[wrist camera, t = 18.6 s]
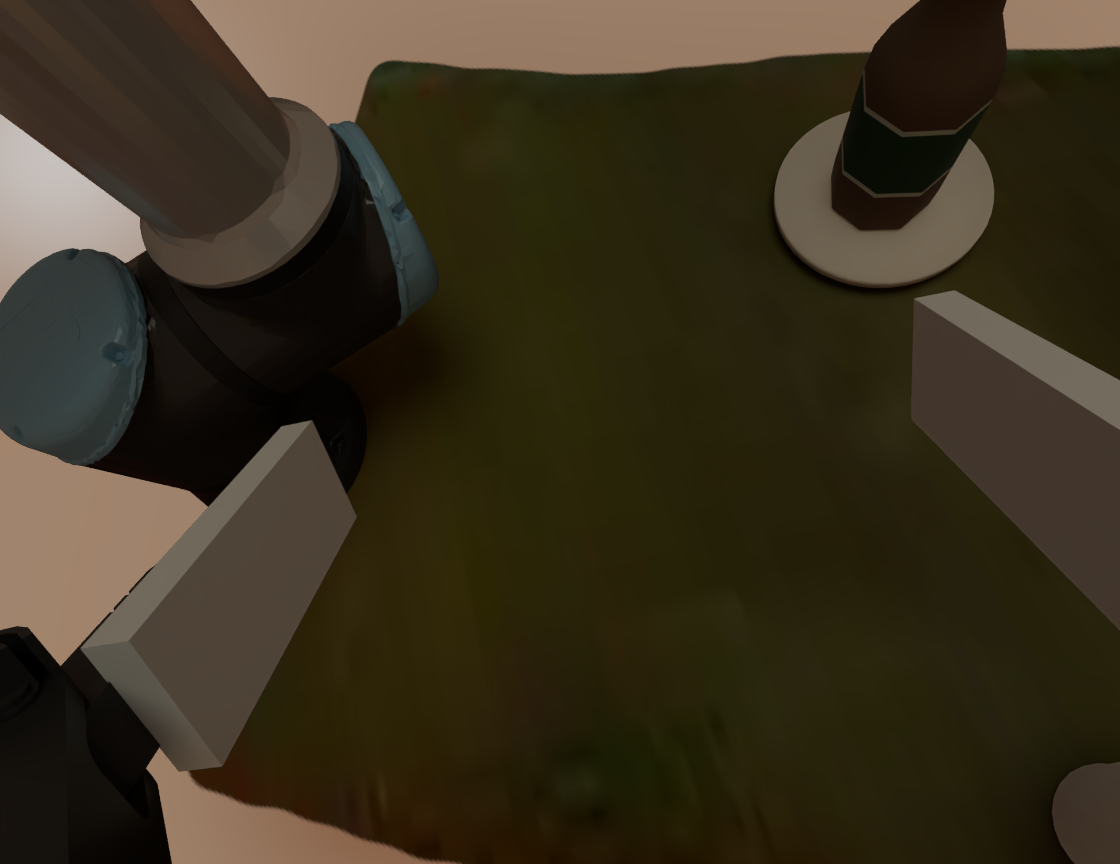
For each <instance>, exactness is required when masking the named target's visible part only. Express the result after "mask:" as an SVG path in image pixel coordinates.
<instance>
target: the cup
mask: <svg viewBox="0 0 1120 864" xmlns="http://www.w3.org/2000/svg"><path fill="white" fill-rule="evenodd" d="M1052 816H1053V823H1054V829H1055V831H1056V834H1057V836H1058V839H1059V841H1060V844H1061V846H1062V847H1063V849H1064V850H1065V852H1066V853H1067V855H1068V856H1069V857H1070V859H1071V860H1072V861H1073V862H1074V863H1075V864H1120V762H1117V763H1111V764H1103V763H1096V764H1091V765H1085V766H1082V767H1080V768H1078V769H1076V770H1074V771H1072V772H1070V773H1069V774H1068V775H1067V776H1066V777H1065V778H1064V779H1063V780H1062V782H1061V783H1060V784H1059V786H1058V789H1057V791H1056V793H1055V795H1054V799H1053V807H1052Z"/></svg>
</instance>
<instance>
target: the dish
mask: <svg viewBox="0 0 1120 864" xmlns="http://www.w3.org/2000/svg"><path fill="white" fill-rule="evenodd" d="M849 115H850V112H847V113H844V114H841V115H838V116H836V117H833V118H831V119H829V120H827V121H825V122H823V123H821V124H819V125H818V126H816V127H815V128H813V129H812V130H810V131H809V132H808V133H806V134H805V135H804V136H803V137H802V138H801V139H800V140H799V141H798V142H797V143H796V144H795V145H794V146H793V148H792V149H791V150H790V151H789V153H788V155H787V156H786V158H785V159H784V161H783V163H782V165H781V168H780V170H779V173H778V177H777V180H776V185H775V190H774V198H773V205H774V215H775V220H776V223H777V226H778V229H779V231H780V233H781V235H782V237H783V239H784V241H785V242H786V244H787V245H788V246H789V248H790V249H791V250H792V252H793V253H794V254H795V255H796V256H797V257H798V258H799V259H800V260H801V261H803V262H804V263H805V264H807V265H808V266H809V267H810V268H812V269H814V270H815V271H817V272H819V273H820V274H822V275H824V276H826V277H829V278H831V279H833V280H836V281H839V282H842V283H846V284H849V285H854V286H860V287H868V288H894V287H900V286H907V285H911V284H915V283H918V282H922V281H924V280H927V279H929V278H932V277H934V276H936V275H938V274H940V273H942V272H944V271H946V270H947V269H949V268H950V267H951V266H953V265H954V264H956V263H957V262H958V261H959V260H960V259H961V258H962V257H963V256H964V255H966V254H967V253H968V251H969V250H970V249H971V248H972V246H973V245H974V244H975V242H976V241H977V240H978V239H979V237H980V236H981V234H982V233H983V231H984V229H985V227H986V226H987V224H988V221H989V218H990V216H991V213H992V208H993V203H994V186H993V179H992V175H991V172H990V169H989V166H988V164H987V162H986V160H985V158H984V156H983V155H982V153H981V152H980V150H979V149H978V148H977V146H976V145H975V144H974V143H973V142H972V141H971V140H970V139H969V140H968V142H967V143H966V145H965V147H964V148H963V150H962V152H961V153H960V155H959V157H958V159H957V160H956V162H955V164H954V165H953V167H952V169H951V170H950V172H949V174H948V175H947V177H946V179H945V181H944V182H943V184H942V186H941V187H940V189H939V191H938V192H937V193H936V195H935V196H934V198H933V199H932V201H931V202H930V203H929V205H928V206H926V207H925V208H924V209H923V210H922V211H921V212H919V213H918V214H917V215H916V216H915V217H914V218H912V219H911V220H910V221H909V222H908V223H907V224H906V225H904V226H903V227H902V228H901V229H895V230H859V229H858V228H856V227H855V226H854V225H852V224H851V223H850V222H849V221H847V220H846V219H845V218H843V217H842V216H841V215H840V214H838V213H837V212H836V211H834V210H833V209H832V197H831V174H832V170H833V166H834V161H835V158H836V155H837V152H838V149H839V146H840V143H841V139H842V136H843V133H844V130H845V127H846V124H847V121H848V118H849Z"/></svg>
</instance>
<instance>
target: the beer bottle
mask: <svg viewBox="0 0 1120 864" xmlns="http://www.w3.org/2000/svg"><path fill="white" fill-rule="evenodd" d="M1005 3H1006V0H920V1H919V2H918V3H916V4H915V5H914V6H913V7H912V8H910V9H909V10H908V11H907V12H906V13H905V14H903V15H902V16H901V17H900V18H899V19H897V20H896V21H895V22H894V23H893V24H892V25H891V26H890V27H889V28H888V29H887V31H886V32H885V33H884V34H883V35H882V36H881V38H880V39H879V40H878V41H877V43H876V44H875V45H874V47H873V50H872V52H871V54H870V57H869V59H868V61H867V64H866V66H865V68H864V71H863V75H862V78H861V81H860V84H859V87H858V90H857V93H856V96H855V99H854V102H853V105H852V109H851V112H850V115H849V118H848V121H847V124H846V127H845V130H844V133H843V136H842V139H841V143H840V146H839V149H838V152H837V155H836V158H835V161H834V166H833V170H832V174H831V197H832V209H833V210H834V211H836V212H837V213H838V214H840V215H841V216H842V217H843V218H845V219H846V220H847V221H849V222H850V223H851V224H852V225H854V226H855V227H856V228H858V229H859V230H895V229H901V228H902V227H903V226H904V225H906V224H907V223H908V222H909V221H910V220H911V219H912V218H914V217H915V216H916V215H917V214H918V213H919V212H921V211H922V210H923V209H924V208H925V207H926V206H928V205H929V203H930V202H931V201H932V199H933V198H934V196H935V195H936V193H937V192H938V191H939V189H940V187H941V186H942V184H943V182H944V181H945V179H946V177H947V175H948V174H949V172H950V170H951V169H952V167H953V165H954V164H955V162H956V160H957V159H958V157H959V155H960V153H961V152H962V150H963V148H964V147H965V145H966V143H967V142H968V140H969V138H970V136H971V135H972V133H973V131H974V130H975V128H976V126H977V125H978V123H979V121H980V120H981V118H982V116H983V114H984V113H985V111H986V109H987V108H988V106H989V104H990V103H991V101H992V99H993V97H994V95H995V93H996V91H997V89H998V87H999V84H1000V82H1001V80H1002V78H1003V76H1004V72H1005V62H1006V53H1007V47H1006V38H1005V29H1004V20H1003V10H1004V7H1005Z"/></svg>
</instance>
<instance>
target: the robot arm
mask: <svg viewBox="0 0 1120 864" xmlns="http://www.w3.org/2000/svg"><path fill="white" fill-rule="evenodd" d="M0 114H1V115H3V116H4V117H5V118H7V119H8V120H9V121H11V122H12V123H13V124H15V125H16V126H17V127H19V128H20V129H22V130H23V131H24V132H26V133H27V134H28V135H30V136H31V137H32V138H34V139H35V140H37V141H38V142H39V143H40V144H42V145H44V146H45V147H46V148H47V149H49V150H50V151H51V152H53V153H54V154H55V155H57V156H58V157H59V158H61V159H62V160H64V161H65V162H66V163H68V164H69V165H70V166H72V167H73V168H74V169H76V170H77V171H78V172H80V173H81V174H82V175H84V176H85V177H86V178H88V179H89V180H91V181H92V182H93V183H95V184H96V185H97V186H99V187H100V188H101V189H103V190H104V191H106V192H107V193H108V194H109V195H111V196H112V197H114V198H115V199H116V200H118V201H119V202H120V203H122V204H123V205H124V206H126V207H127V208H128V209H130V210H131V211H132V212H134V213H135V214H136V215H138V216H139V217H140V229H141V234H142V239H143V242H144V245H145V247H146V251H145V252H143V253H141V254H140V255H138V256H137V257H135V258H134V259H132V260H131V261H129V262H127V263H124V262H122V261H121V260H120V259H118V258H117V257H115V256H113V255H111V254H109V253H106V252H98V251H95V250H92V249H82V250H78V249H73V248H72V249H66V250H62V251H59V252H56V253H53V254H52V255H50V256H48V257H46V258H44V259H42V260H40V261H39V262H37V263H36V264H35V265H33V266H32V267H30V268H29V269H28V270H27V271H26V272H25V273H24V274H23V275H22V276H21V277H20V278H19V279H18V280H17V281H16V282H15V283H14V284H13V285H12V287H11V288H10V289H9V290H8V292H7V293H6V295H5V296H4V298H3V299H2V301H1V303H0V429H1V430H2V431H3V432H4V433H5V434H6V435H7V436H8V437H10V438H11V439H12V440H14V441H16V442H17V443H19V444H21V445H23V446H26V447H28V448H31V449H34V450H37V451H40V452H43V453H47V454H50V455H52V456H55V457H58V458H59V459H60V460H62V461H64V462H66V463H70V464H72V465H79V466H85V467H89V468H94V469H98V470H102V471H107V472H111V473H115V474H120V475H124V476H128V477H133V478H137V479H141V480H145V481H150V482H154V483H159V484H163V485H168V486H171V487H176V488H180V489H184V490H188V491H190V492H191V493H192V494H194V495H195V496H196V497H197V498H199V499H200V500H201V501H202V502H203V503H204V504H205V505H207V506H208V508H207V509H206V510H205V512H204V513H203V514H202V515H201V516H200V517H199V518H198V519H197V520H196V521H195V523H194V524H193V525H192V526H191V527H190V528H189V529H188V530H187V531H186V532H185V534H184V535H183V536H182V537H181V538H180V539H179V540H178V541H177V542H176V543H175V545H174V546H173V547H172V548H171V549H170V550H169V551H168V552H167V554H165V556H164V557H163V558H162V559H161V560H160V561H159V562H158V563H157V564H156V565H155V566H154V567H152V568H151V569H150V570H148V571H147V572H146V573H145V574H144V576H143V577H142V578H141V579H140V580H139V581H138V582H137V583H136V584H135V585H134V587H133V588H132V589H131V590H130V591H129V595H125V596H124V597H123V599H122V600H121V601H120V602H119V603H118V604H117V605H116V606H115V607H114V612H111V613H109V614H108V615H107V616H106V617H105V618H104V619H103V620H102V622H101V623H100V624H99V625H98V626H97V627H96V628H95V629H94V630H93V631H92V632H91V634H90V635H89V636H88V637H87V638H86V639H85V640H84V641H83V642H82V643H81V645H80V646H79V647H78V648H77V649H76V650H75V651H74V652H73V653H72V654H71V655H70V657H69V658H68V659H67V660H66V661H65V662H64V663H63V664H62V665H61V666H60V665H59V664H58V663H57V662H56V660H55V659H54V658H53V657H52V656H51V654H50V653H49V652H48V651H47V650H46V648H45V647H44V646H43V645H42V644H41V643H40V641H39V640H38V639H37V638H36V637H35V635H34V634H33V633H32V632H31V631H30V629H29V628H27V627H19V626H16V627H12V628H8V629H4V630H0V864H172V862H171V856H170V851H169V845H168V839H167V834H166V828H165V823H164V817H163V812H162V807H161V801H160V796H159V790H158V784H157V783H156V781H155V779H154V778H153V776H152V775H151V774H150V773H149V772H148V770H147V769H146V767H147V765H148V764H149V762H150V761H151V759H152V758H153V756H154V755H155V753H156V752H157V750H158V749H159V747H160V749H161V750H162V751H163V752H164V754H165V755H166V756H167V757H168V758H169V760H170V761H171V762H172V764H173V765H174V766H175V767H176V769H177V770H178V771H179V772H180V771H188V770H196V769H204V768H213V767H221V766H223V764H224V762H225V760H226V759H227V757H228V755H229V753H230V751H231V749H232V747H233V746H234V744H235V742H236V740H237V738H238V736H239V734H240V733H241V731H242V729H243V727H244V725H245V723H246V721H247V720H248V718H249V716H250V714H251V712H252V710H253V708H254V707H255V705H256V703H257V701H258V699H259V697H260V695H261V694H262V692H263V690H264V688H265V686H266V684H267V682H268V681H269V679H270V677H271V675H272V673H273V671H274V669H275V668H276V666H277V664H278V662H279V660H280V658H281V657H282V655H283V653H284V651H285V649H286V647H287V645H288V644H289V642H290V640H291V638H292V636H293V634H294V632H295V631H296V629H297V627H298V625H299V623H300V621H301V619H302V618H303V616H304V614H305V612H306V610H307V608H308V606H309V605H310V603H311V601H312V599H313V597H314V595H315V593H316V592H317V590H318V588H319V586H320V584H321V582H322V580H323V579H324V577H325V575H326V573H327V571H328V569H329V567H330V566H331V564H332V562H333V560H334V558H335V556H336V554H337V553H338V551H339V549H340V547H341V545H342V543H343V541H344V540H345V538H346V536H347V534H348V532H349V530H350V528H351V527H352V525H353V523H354V521H355V519H356V517H357V516H356V514H355V512H354V510H353V508H352V506H351V503H350V501H349V499H348V497H347V495H346V492H347V491H348V489H349V488H350V486H351V485H352V483H353V481H354V479H355V478H356V476H357V473H358V471H359V469H360V466H361V463H362V460H363V456H364V452H365V446H366V423H365V417H364V413H363V410H362V407H361V405H360V402H359V400H358V398H357V397H356V395H355V393H354V392H353V391H352V389H351V388H350V387H349V386H348V385H347V384H346V383H345V382H344V381H343V380H342V379H340V378H339V377H338V376H336V375H335V374H333V373H332V372H330V371H329V370H328V369H330V368H331V367H333V366H335V365H336V364H338V363H339V362H341V361H342V360H344V359H346V358H347V357H349V356H350V355H352V354H353V353H355V352H357V351H358V350H360V349H361V348H363V347H365V346H366V345H368V344H369V343H371V342H372V341H374V340H376V339H377V338H379V337H380V336H382V335H384V334H385V333H387V332H388V331H390V330H391V329H393V328H395V327H398V326H400V325H402V324H403V323H404V322H405V320H406V318H407V317H408V316H409V315H410V314H412V313H413V312H414V311H416V310H417V309H419V308H420V307H421V306H423V305H424V304H425V303H427V302H428V301H429V300H431V299H432V297H433V296H434V295H435V293H436V291H437V288H438V284H439V275H438V270H437V267H436V264H435V261H434V259H433V256H432V254H431V252H430V250H429V247H428V245H427V243H426V241H425V239H424V237H423V235H422V233H421V231H420V229H419V227H418V225H417V223H416V221H415V219H414V218H413V216H412V214H411V213H410V211H409V210H408V209H407V208H406V203H405V202H404V200H403V198H402V196H401V194H400V192H399V190H398V187H397V186H396V184H395V182H394V180H393V178H392V177H391V175H390V173H389V172H388V170H387V168H386V166H385V165H384V163H383V161H382V160H381V158H380V156H379V155H378V153H377V152H376V150H375V148H374V147H373V145H372V144H371V142H370V141H369V139H368V138H367V136H366V135H365V133H364V132H363V131H362V130H361V128H360V127H359V126H358V125H357V124H355V123H354V122H351V121H344V122H341V123H339V124H330V125H329V126H327V125H326V123H325V122H324V121H323V120H322V119H321V118H320V117H319V116H318V115H317V114H316V113H314V112H313V111H312V110H311V109H309V108H308V107H306V106H304V105H302V104H300V103H298V102H295V101H291V100H288V99H283V98H275V97H268V96H267V95H266V94H265V92H264V91H263V90H262V89H261V88H260V86H259V85H258V84H257V82H256V81H255V80H254V79H253V77H252V76H251V75H250V74H249V72H248V71H247V70H246V69H245V67H244V66H243V65H242V64H241V62H240V61H239V60H238V59H237V57H236V56H235V55H234V54H233V52H232V51H231V50H230V49H229V48H228V46H227V45H226V44H225V42H224V41H223V40H222V39H221V38H220V36H219V35H218V34H217V32H216V31H215V30H214V29H213V27H212V26H211V25H210V24H209V22H208V21H207V20H206V19H205V18H204V16H203V15H202V14H201V13H200V11H199V10H198V9H197V8H196V6H195V5H194V4H193V3H192V1H191V0H0ZM911 419H912V420H913V421H914V422H915V423H916V424H917V425H918V426H919V427H920V428H921V429H922V430H923V431H924V432H925V433H926V434H927V435H928V436H929V437H930V438H931V439H932V440H933V441H934V442H935V443H936V444H937V445H938V446H939V447H940V448H941V450H942V451H943V452H944V453H945V454H946V455H947V456H948V457H949V458H950V459H951V460H952V461H953V462H954V463H955V464H956V465H957V466H958V467H959V468H960V469H961V470H962V471H963V472H964V473H965V474H966V475H967V476H968V477H969V478H970V479H971V480H972V481H973V482H974V483H975V484H976V485H977V486H978V487H979V488H980V489H981V490H982V491H983V492H984V493H985V494H986V495H987V496H988V497H989V498H990V499H991V500H992V501H993V502H994V503H995V504H996V505H997V506H998V507H999V508H1000V509H1001V510H1002V511H1003V512H1004V513H1005V514H1006V515H1007V516H1008V517H1009V518H1010V519H1011V521H1012V522H1013V523H1014V524H1015V525H1016V526H1017V527H1018V528H1019V529H1020V530H1021V531H1022V532H1023V533H1024V534H1025V535H1026V536H1027V537H1028V538H1029V539H1030V540H1031V541H1032V542H1033V543H1034V544H1035V545H1036V546H1037V547H1038V548H1039V549H1040V550H1041V551H1042V552H1043V553H1044V554H1045V555H1046V556H1047V557H1048V558H1049V559H1050V560H1051V561H1052V562H1053V563H1054V564H1055V565H1056V566H1057V567H1058V568H1059V569H1060V570H1061V571H1062V572H1063V573H1064V574H1065V575H1066V576H1067V577H1068V578H1069V579H1070V580H1071V581H1072V582H1073V583H1074V584H1075V585H1076V586H1077V587H1078V588H1079V589H1080V591H1081V592H1082V593H1083V594H1084V595H1085V596H1086V597H1087V598H1088V599H1089V600H1090V601H1091V602H1092V603H1093V604H1094V605H1095V606H1096V607H1097V608H1098V609H1099V610H1100V611H1101V612H1102V613H1103V614H1104V615H1105V616H1106V617H1107V618H1108V619H1109V620H1110V621H1111V622H1112V623H1113V624H1114V625H1115V626H1116V627H1117V628H1118V629H1119V630H1120V380H1118V379H1116V378H1114V377H1112V376H1110V375H1109V374H1107V373H1105V372H1103V371H1101V370H1099V369H1098V368H1096V367H1094V366H1092V365H1090V364H1088V363H1087V362H1085V361H1083V360H1081V359H1079V358H1077V357H1076V356H1074V355H1072V354H1070V353H1068V352H1066V351H1065V350H1063V349H1061V348H1059V347H1057V346H1055V345H1054V344H1052V343H1050V342H1048V341H1046V340H1044V339H1043V338H1041V337H1039V336H1037V335H1035V334H1033V333H1032V332H1030V331H1028V330H1026V329H1024V328H1022V327H1021V326H1019V325H1017V324H1015V323H1013V322H1011V321H1010V320H1008V319H1006V318H1004V317H1002V316H1000V315H999V314H997V313H995V312H993V311H991V310H989V309H988V308H986V307H984V306H982V305H980V304H979V303H977V302H975V301H973V300H971V299H969V298H968V297H966V296H964V295H962V294H960V293H958V292H957V291H950V292H945V293H940V294H935V295H930V296H925V297H920V298H915V299H914V324H913V363H912V401H911Z"/></svg>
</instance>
